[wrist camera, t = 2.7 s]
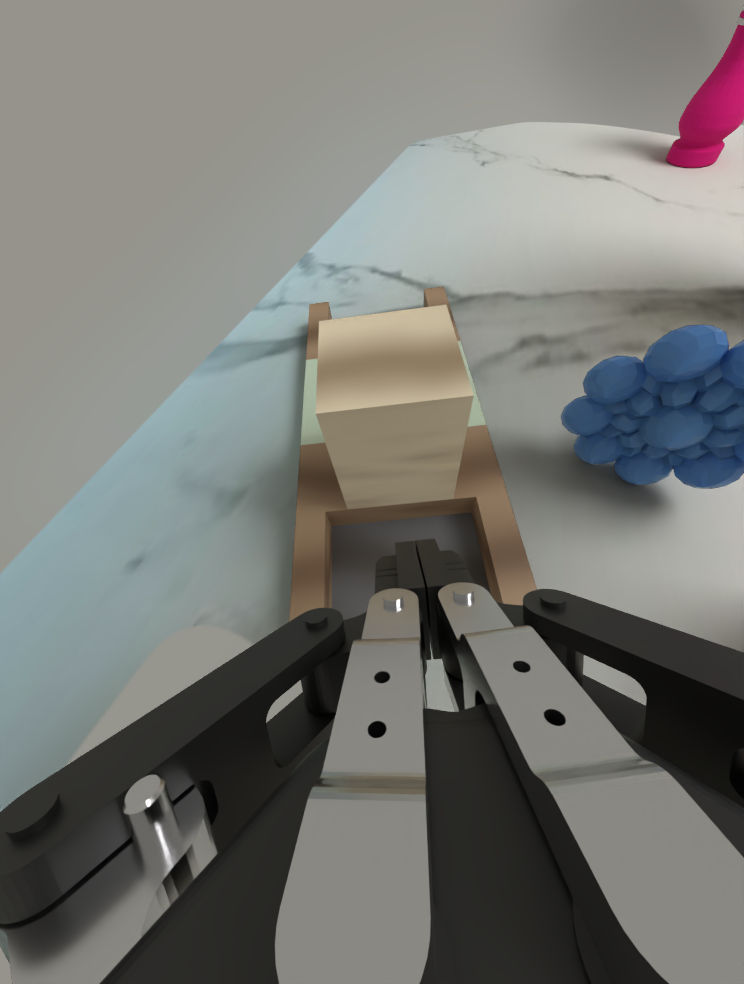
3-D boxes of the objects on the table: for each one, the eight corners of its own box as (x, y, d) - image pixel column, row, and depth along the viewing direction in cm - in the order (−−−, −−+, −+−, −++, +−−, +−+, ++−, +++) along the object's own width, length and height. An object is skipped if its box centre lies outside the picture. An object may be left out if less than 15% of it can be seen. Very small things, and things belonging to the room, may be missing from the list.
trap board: (315, 326, 39) (309, 304, 36) (441, 309, 38) (443, 286, 36) (301, 631, 22) (289, 623, 20) (528, 613, 21) (540, 603, 19)
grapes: (732, 468, 25) (957, 302, 14) (713, 543, 22) (970, 405, 12) (565, 409, 29) (648, 249, 19) (533, 466, 26) (609, 317, 16)
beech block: (345, 430, 27) (319, 321, 19) (436, 419, 26) (446, 304, 19) (347, 509, 23) (315, 413, 16) (453, 499, 23) (473, 395, 15)
